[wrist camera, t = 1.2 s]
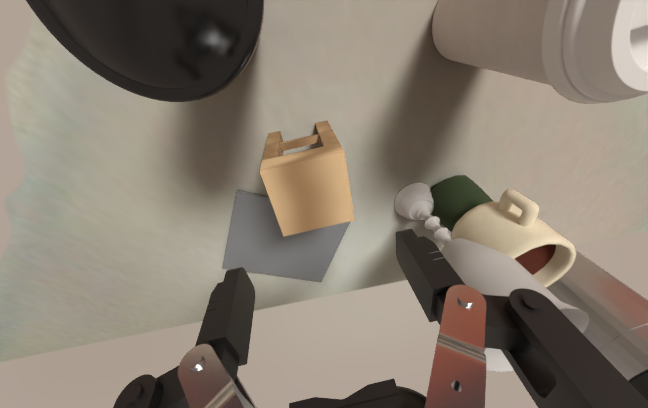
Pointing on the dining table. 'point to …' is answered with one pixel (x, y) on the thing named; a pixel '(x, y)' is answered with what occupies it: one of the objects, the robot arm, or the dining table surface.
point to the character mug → (503, 227)
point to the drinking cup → (158, 42)
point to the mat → (277, 242)
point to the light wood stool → (307, 181)
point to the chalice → (479, 265)
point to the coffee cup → (552, 43)
